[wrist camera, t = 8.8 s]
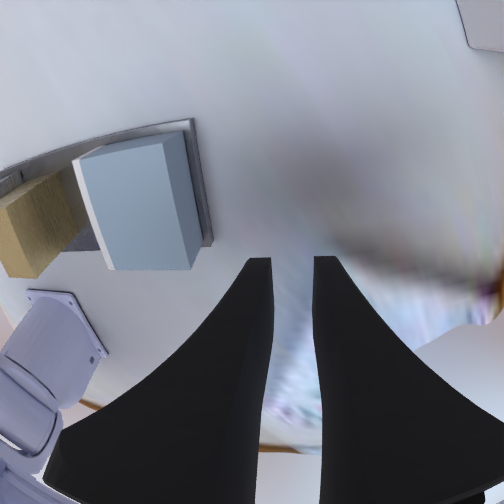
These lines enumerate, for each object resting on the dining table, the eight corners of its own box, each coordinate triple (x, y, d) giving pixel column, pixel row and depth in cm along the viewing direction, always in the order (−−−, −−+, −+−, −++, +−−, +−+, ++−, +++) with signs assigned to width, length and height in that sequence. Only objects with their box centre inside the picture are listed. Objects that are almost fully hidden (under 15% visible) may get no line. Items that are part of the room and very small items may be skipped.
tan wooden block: (78, 233, 19) (36, 278, 15) (49, 236, 20) (9, 277, 15) (57, 171, 17) (5, 207, 12) (29, 179, 17) (-20, 214, 13)
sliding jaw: (203, 241, 19) (190, 270, 16) (127, 244, 19) (107, 270, 17) (182, 129, 15) (162, 142, 12) (99, 145, 15) (70, 161, 13)
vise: (213, 240, 20) (199, 276, 16) (32, 248, 22) (9, 272, 19) (193, 118, 15) (169, 130, 12) (3, 169, 18) (-27, 188, 14)
